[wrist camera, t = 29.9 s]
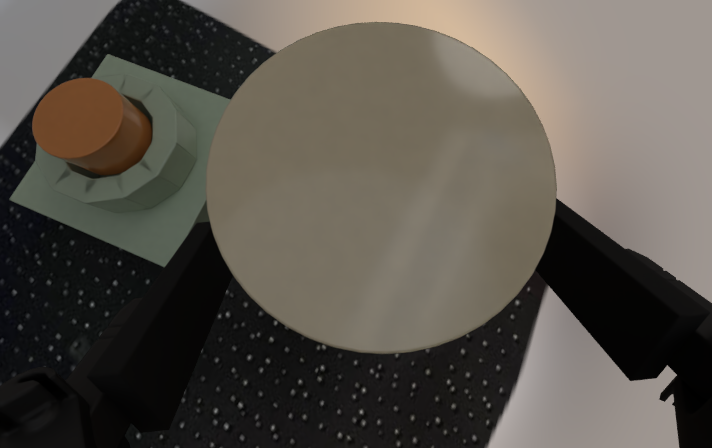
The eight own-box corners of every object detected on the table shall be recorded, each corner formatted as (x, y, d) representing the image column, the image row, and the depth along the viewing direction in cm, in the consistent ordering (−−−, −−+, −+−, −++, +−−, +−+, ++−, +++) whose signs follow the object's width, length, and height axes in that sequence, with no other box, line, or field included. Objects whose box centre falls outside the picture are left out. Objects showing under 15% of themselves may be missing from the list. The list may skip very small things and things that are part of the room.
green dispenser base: (269, 134, 20) (241, 85, 16) (198, 272, 18) (141, 266, 14) (141, 86, 21) (77, 24, 16) (61, 213, 19) (-40, 187, 14)
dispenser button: (167, 119, 16) (139, 94, 14) (126, 187, 15) (91, 171, 13) (101, 93, 16) (64, 65, 14) (58, 159, 15) (13, 139, 13)
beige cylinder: (436, 219, 19) (594, 81, 6) (397, 327, 18) (501, 423, 5) (334, 180, 20) (293, -18, 7) (289, 281, 18) (137, 264, 6)
